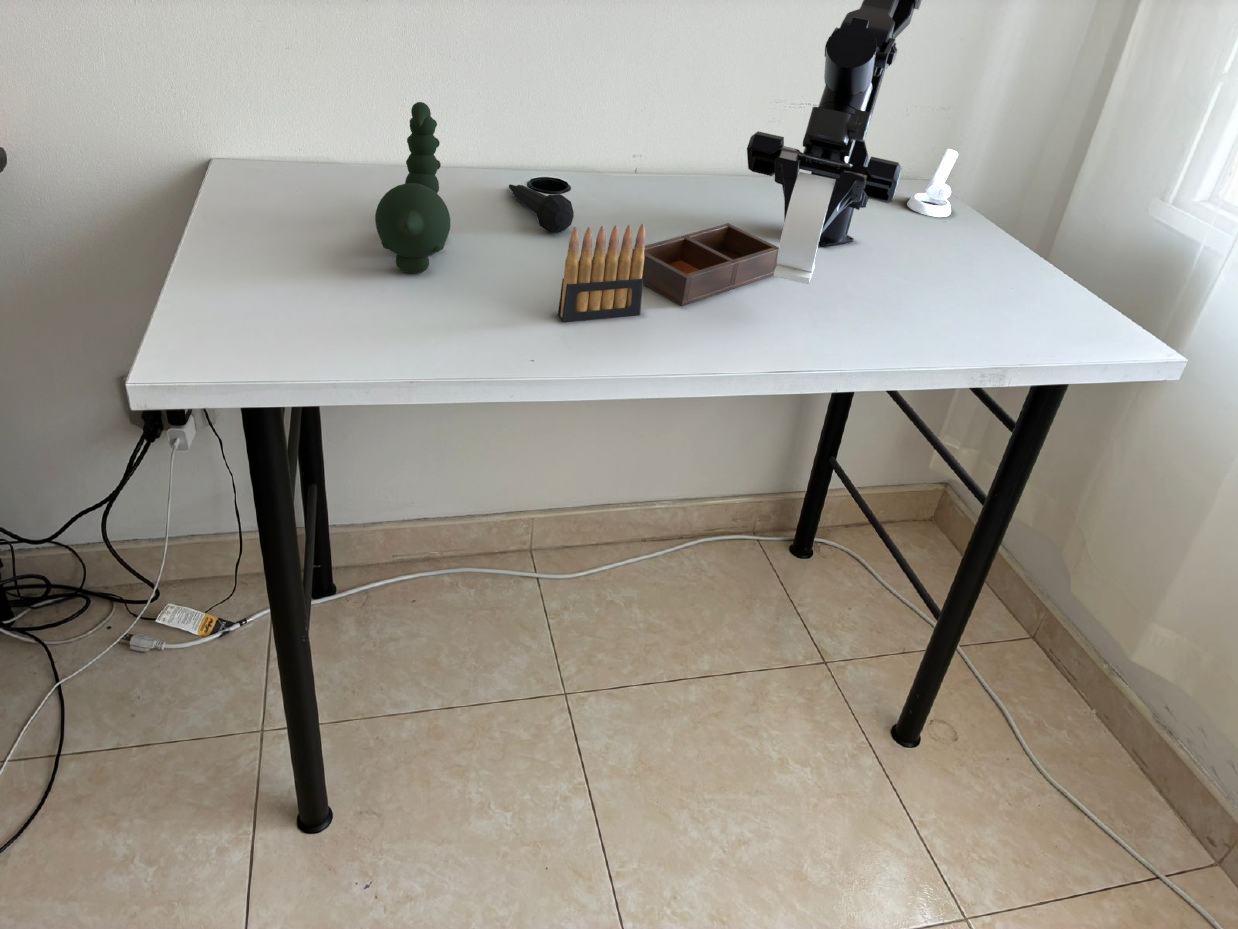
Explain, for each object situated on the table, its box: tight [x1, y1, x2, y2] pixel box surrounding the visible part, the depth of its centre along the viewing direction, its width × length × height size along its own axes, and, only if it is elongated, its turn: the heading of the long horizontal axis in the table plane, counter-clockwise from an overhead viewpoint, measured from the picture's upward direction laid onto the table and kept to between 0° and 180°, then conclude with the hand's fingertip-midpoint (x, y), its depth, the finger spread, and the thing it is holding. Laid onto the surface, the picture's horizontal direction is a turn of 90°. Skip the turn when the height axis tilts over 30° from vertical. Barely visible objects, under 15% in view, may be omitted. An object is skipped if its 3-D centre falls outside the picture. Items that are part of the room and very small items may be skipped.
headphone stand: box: [772, 171, 836, 285], centre depth 117 cm, size 5×6×12 cm
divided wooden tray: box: [631, 222, 779, 307], centre depth 132 cm, size 20×10×4 cm, turn 133°
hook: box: [906, 148, 959, 218], centre depth 167 cm, size 8×12×7 cm
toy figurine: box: [374, 101, 451, 274], centre depth 124 cm, size 9×19×25 cm
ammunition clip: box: [557, 223, 646, 323], centre depth 117 cm, size 11×2×12 cm, turn 113°
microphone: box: [508, 184, 575, 234], centre depth 144 cm, size 6×6×20 cm
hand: (802, 228), depth 116 cm, fingers closed on headphone stand, 4 cm apart
